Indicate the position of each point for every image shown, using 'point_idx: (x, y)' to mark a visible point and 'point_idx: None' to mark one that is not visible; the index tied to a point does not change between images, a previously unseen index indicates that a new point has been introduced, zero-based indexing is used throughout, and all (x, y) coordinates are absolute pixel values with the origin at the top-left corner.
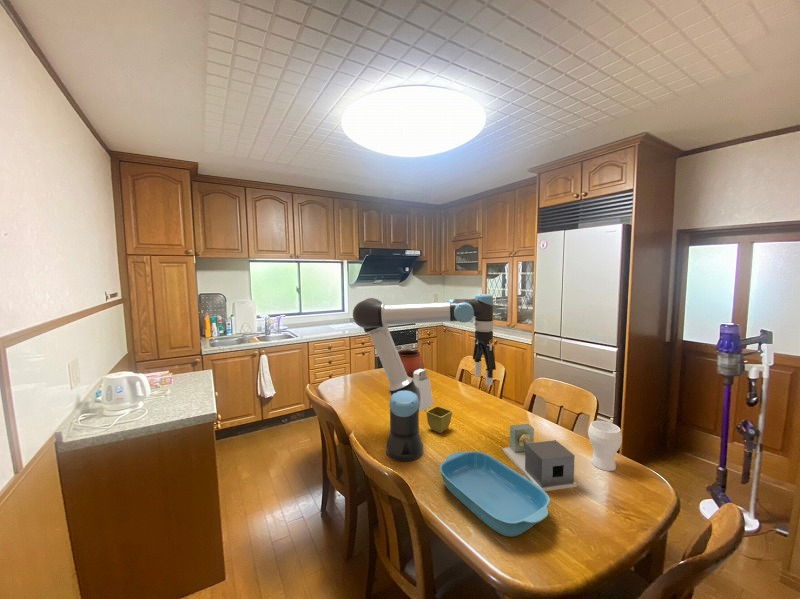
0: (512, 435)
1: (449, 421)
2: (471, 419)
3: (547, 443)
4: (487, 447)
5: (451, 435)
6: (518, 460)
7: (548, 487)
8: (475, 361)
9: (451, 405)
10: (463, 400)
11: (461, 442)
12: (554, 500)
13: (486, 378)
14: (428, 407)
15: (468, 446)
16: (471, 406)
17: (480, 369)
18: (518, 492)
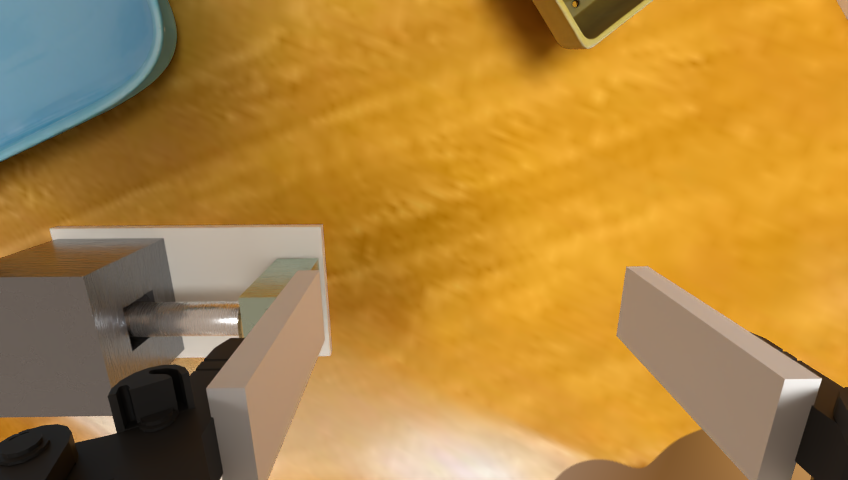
0: (280, 281)
1: (557, 36)
2: (619, 205)
3: (87, 369)
4: (355, 172)
5: (491, 39)
6: (226, 245)
7: None
8: (838, 397)
9: (812, 160)
10: (840, 249)
11: (416, 67)
12: (18, 249)
13: (277, 307)
14: (845, 3)
15: (376, 88)
16: (753, 261)
17: (668, 378)
18: (13, 142)
